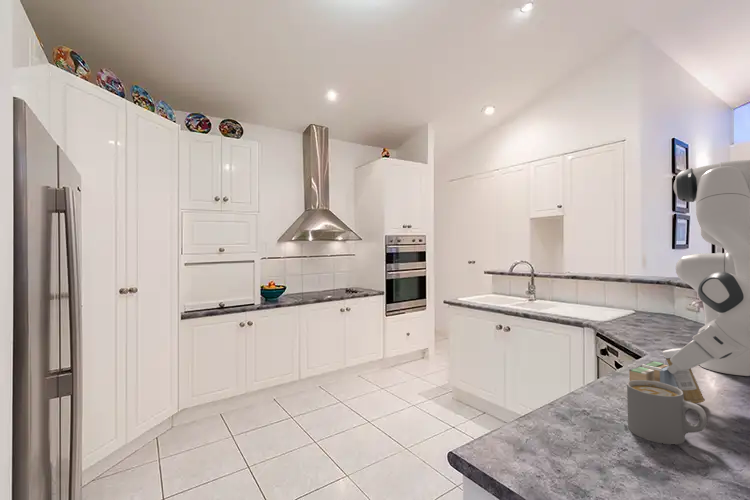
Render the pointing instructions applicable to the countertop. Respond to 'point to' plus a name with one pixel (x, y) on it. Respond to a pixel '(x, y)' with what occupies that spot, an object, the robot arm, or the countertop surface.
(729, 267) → the robot arm
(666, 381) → the gauge plunger
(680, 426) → the coffee mug
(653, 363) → the tan and green block
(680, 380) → the sprinkles bottle
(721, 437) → the countertop surface
